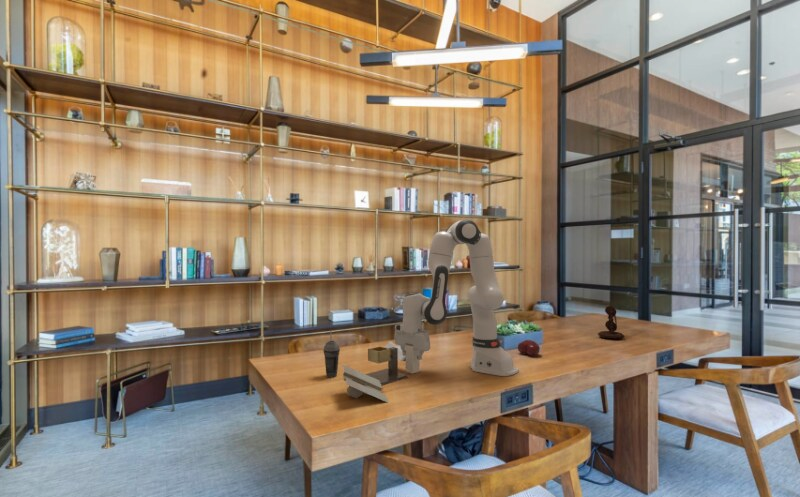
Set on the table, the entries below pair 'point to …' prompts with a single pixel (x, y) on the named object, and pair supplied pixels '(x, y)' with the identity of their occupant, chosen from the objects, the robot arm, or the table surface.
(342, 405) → the table surface
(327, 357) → the dark travel mug
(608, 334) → the dark figurine
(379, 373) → the bracket
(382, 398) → the grey grooved block
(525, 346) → the heart
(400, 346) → the crown molding
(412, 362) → the rail end
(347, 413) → the table surface
